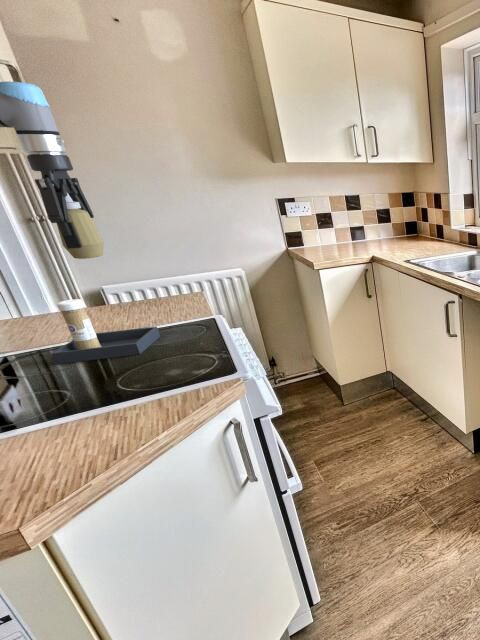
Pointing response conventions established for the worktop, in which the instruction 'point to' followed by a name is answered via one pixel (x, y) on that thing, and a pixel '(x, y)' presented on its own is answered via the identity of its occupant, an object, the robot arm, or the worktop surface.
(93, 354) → the serving tray
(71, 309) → the sprinkles bottle
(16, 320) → the worktop surface
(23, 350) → the worktop surface
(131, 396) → the worktop surface
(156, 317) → the worktop surface
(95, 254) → the squeeze bottle
